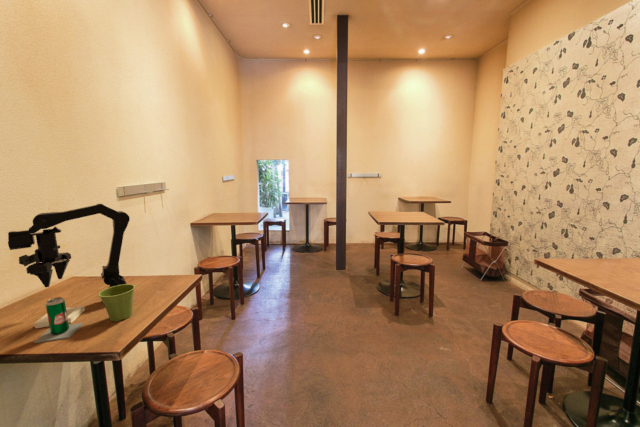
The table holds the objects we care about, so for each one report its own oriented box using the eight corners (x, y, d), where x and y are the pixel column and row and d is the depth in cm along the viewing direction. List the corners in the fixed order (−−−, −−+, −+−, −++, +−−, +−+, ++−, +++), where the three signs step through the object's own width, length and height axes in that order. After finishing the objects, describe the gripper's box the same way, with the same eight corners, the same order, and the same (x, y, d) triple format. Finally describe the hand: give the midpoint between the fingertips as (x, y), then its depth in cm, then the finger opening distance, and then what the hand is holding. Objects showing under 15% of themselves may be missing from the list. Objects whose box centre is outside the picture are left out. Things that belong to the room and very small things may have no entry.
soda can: (57, 336, 103) (52, 303, 101) (47, 334, 104) (41, 302, 102) (73, 328, 108) (68, 297, 106) (62, 327, 109) (57, 296, 107)
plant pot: (107, 313, 120) (103, 287, 118) (141, 308, 124) (138, 282, 122) (97, 327, 109) (93, 298, 107) (134, 321, 113) (131, 293, 111)
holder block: (84, 310, 124) (84, 305, 123) (71, 323, 113) (70, 318, 113) (52, 314, 120) (51, 309, 120) (35, 328, 110) (34, 323, 110)
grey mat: (83, 323, 112) (83, 322, 112) (69, 337, 103) (69, 336, 102) (51, 328, 109) (51, 327, 109) (34, 343, 100) (34, 342, 100)
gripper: (37, 241, 124) (43, 277, 126) (4, 253, 106) (12, 294, 108) (69, 239, 127) (74, 274, 129) (42, 250, 109) (49, 290, 112)
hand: (53, 282), depth 120 cm, fingers open, 9 cm apart
